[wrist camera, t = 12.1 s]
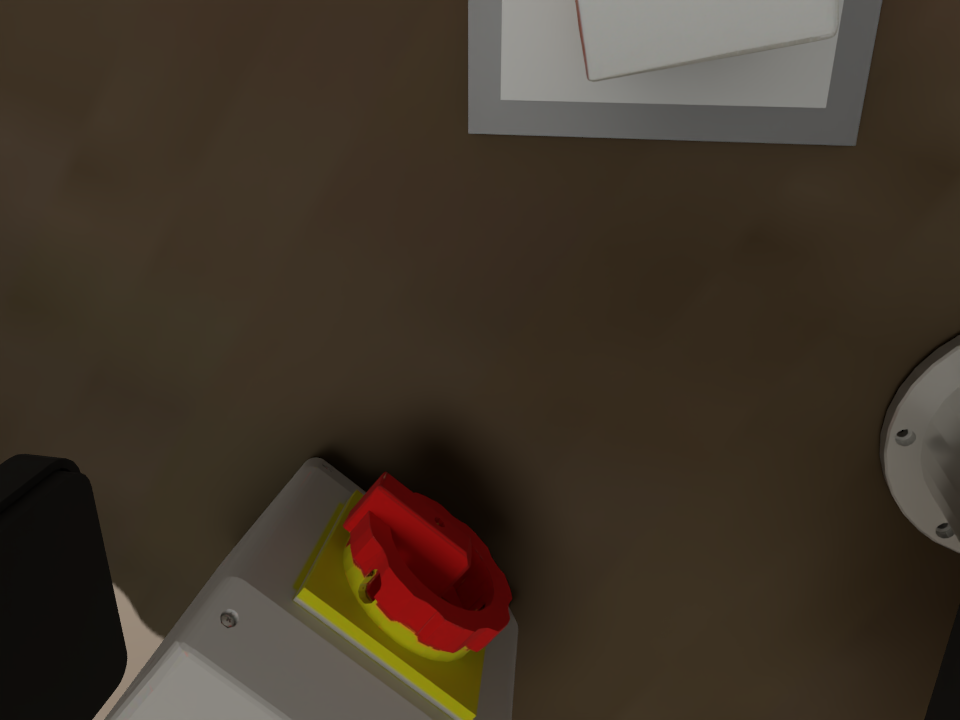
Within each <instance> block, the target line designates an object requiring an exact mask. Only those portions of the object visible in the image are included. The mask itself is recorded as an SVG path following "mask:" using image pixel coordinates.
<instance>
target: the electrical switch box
mask: <svg viewBox="0 0 960 720" xmlns="http://www.w3.org/2000/svg"><path fill="white" fill-rule="evenodd" d="M511 600H512V595H511V590H510V587H509V585H508V582H507V579H506V577H505V574H504V573H503V572H502V571H501V570H500V569H499V567H498V566H497V565H496V563H495V562H494V560H493V559H492V557H491V554H490V552H489V549H488V547H487V546H486V545H485V544H484V543H483V541H482V540H481V539H480V538H479V537H478V536H477V535H476V533H475V532H474V531H473V530H472V529H471V528H470V527H469V526H468V525H467V524H465V523H463V522H461V521H459V520H458V519H457V518H455V517H454V516H452V515H451V514H450V513H449V512H448V511H447V510H446V509H445V508H444V507H443V506H442V505H441V504H439V503H437V502H436V501H434V500H432V499H430V498H428V497H426V496H424V495H422V494H419V493H417V492H416V493H413V492H412V491H410V490H409V489H408V488H407V487H405V486H404V485H403V484H401V483H400V482H399V481H398V480H396V479H395V478H394V477H392V476H391V475H390V474H389V473H387V472H384V473H383V474H382V475H381V476H380V477H379V479H378V480H377V481H376V482H375V483H374V484H373V485H372V487H371V488H370V489H369V490H368V491H367V492H365V491H364V490H362V489H361V488H360V487H359V486H357V485H356V484H355V483H353V482H352V481H351V480H349V479H348V478H347V477H346V476H344V475H343V474H342V473H340V472H339V471H338V470H337V469H335V468H334V467H333V466H331V465H330V464H329V463H327V462H326V461H325V460H323V459H321V458H317V457H316V458H311V459H309V460H307V461H306V462H305V463H304V464H303V465H302V467H301V468H300V469H299V470H298V471H297V473H296V474H295V475H294V476H293V477H292V479H291V480H290V481H289V482H288V483H287V484H286V486H285V487H284V488H283V489H282V490H281V492H280V493H279V494H278V495H277V496H276V498H275V499H274V500H273V501H272V503H271V504H270V505H269V506H268V507H267V509H266V510H265V511H264V512H263V513H262V515H261V516H260V517H259V518H258V519H257V521H256V522H255V523H254V524H253V525H252V527H251V528H250V529H249V530H248V532H247V533H246V534H245V535H244V536H243V538H242V539H241V540H240V541H239V542H238V544H237V545H236V546H235V547H234V548H233V550H232V551H231V552H230V553H229V555H228V556H227V557H226V558H225V559H224V561H223V562H222V563H221V564H220V566H219V567H218V568H217V570H216V571H215V572H214V574H213V575H212V576H211V578H210V579H209V580H208V582H207V583H206V584H205V586H204V587H203V588H202V590H201V591H200V592H199V594H198V595H197V596H196V598H195V599H194V600H193V602H192V603H191V604H190V606H189V607H188V608H187V610H186V611H185V612H184V614H183V615H182V616H181V618H180V619H179V620H178V622H177V623H176V624H175V626H174V627H173V628H172V630H171V631H170V632H169V634H168V635H167V636H166V638H165V639H164V640H163V642H162V643H161V644H160V646H159V647H158V649H157V650H156V651H155V653H154V654H153V655H152V657H151V658H150V660H149V661H148V662H147V663H146V665H145V666H144V667H143V668H142V670H141V671H140V673H139V674H138V675H137V677H136V678H135V679H134V681H133V682H132V683H131V685H130V686H129V687H128V689H127V690H126V691H125V693H124V694H123V695H122V697H121V698H120V699H119V701H118V702H117V703H116V705H115V706H114V707H113V709H112V710H111V711H110V713H109V714H108V715H107V717H106V718H105V719H104V720H511V718H512V705H513V692H514V678H515V665H516V652H517V639H518V624H517V622H516V620H515V618H514V616H513V614H512V612H511V610H510V608H509V603H510V601H511Z"/></svg>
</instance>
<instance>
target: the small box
mask: <svg viewBox="0 0 960 720" xmlns="http://www.w3.org/2000/svg"><path fill="white" fill-rule="evenodd" d="M575 3H576V10H577V18H578V26H579V32H580V38H581V44H582V50H583V56H584V62H585V69H586V75H587V79H588V80H589V81H592V82H596V81H602V80H607V79H613V78H618V77H624V76H629V75H635V74H640V73H646V72H651V71H657V70H662V69H667V68H673V67H678V66H684V65H689V64H695V63H700V62H706V61H711V60H717V59H722V58H728V57H733V56H739V55H744V54H750V53H755V52H761V51H766V50H772V49H777V48H783V47H788V46H794V45H799V44H804V43H809V42H815V41H820V40H825V39H829V38H833V37H834V36H835V35H836V33H837V31H838V25H839V0H575Z"/></svg>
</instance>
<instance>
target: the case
mask: <svg viewBox="0 0 960 720" xmlns="http://www.w3.org/2000/svg"><path fill="white" fill-rule="evenodd" d="M881 5H882V0H839V25H838V31H837V33H836V35H835V36H834V37H833V38H829V39H825V40H820V41H815V42H809V43H804V44H799V45H794V46H788V47H783V48H777V49H772V50H766V51H761V52H755V53H750V54H744V55H739V56H733V57H728V58H722V59H717V60H711V61H706V62H700V63H695V64H689V65H684V66H678V67H673V68H667V69H662V70H657V71H651V72H646V73H640V74H635V75H629V76H624V77H618V78H613V79H607V80H602V81H596V82H592V81H589V80H588V79H587V75H586V69H585V62H584V56H583V50H582V44H581V38H580V32H579V26H578V18H577V10H576V3H575V0H468V133H471V134H502V135H534V136H565V137H596V138H627V139H658V140H689V141H720V142H751V143H782V144H813V145H845V146H855V145H856V140H857V134H858V129H859V123H860V118H861V113H862V107H863V102H864V96H865V91H866V86H867V80H868V75H869V69H870V64H871V59H872V53H873V48H874V42H875V37H876V32H877V26H878V21H879V15H880V10H881Z"/></svg>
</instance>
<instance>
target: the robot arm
mask: <svg viewBox="0 0 960 720" xmlns="http://www.w3.org/2000/svg"><path fill="white" fill-rule="evenodd" d="M901 430H904V431H903V432H901V433H898V432H899V431H901ZM879 455H880V461H881V466H882V471H883V476H884V479H885V481H886V483H887V485H888V488H889V490H890V492H891V495H892V496H893V498H894V500H895V501H896V503H897V505H898V506H899V508H900V510H901V511H902V513H903V514H904V515H905V517H906V518H907V519H908V520H909V521H910V522H911V523H912V524H913V525H914V526H915V527H916V528H917V529H918V530H919V531H920V532H922V533H923V534H924V535H926V536H927V537H928V538H930V539H931V540H933V541H934V542H936V543H938V544H940V545H942V546H944V547H946V548H949V549H951V550H953V551H955V552H957V553H960V335H959V336H957V337H955V338H954V339H952V340H951V341H949V342H947V343H946V344H944V345H943V346H941V347H939V348H938V349H936V350H935V351H934V352H933V353H932V354H931V355H929V356H928V357H927V358H926V359H925V360H924V361H923V362H921V363H920V364H919V365H918V366H917V367H916V368H915V369H914V370H913V371H912V373H911V374H910V375H909V376H908V378H907V379H906V380H905V381H904V383H903V384H902V385H901V386H900V387H899V389H898V391H897V393H896V395H895V396H894V398H893V400H892V402H891V404H890V406H889V408H888V410H887V412H886V416H885V419H884V423H883V426H882V430H881V436H880V454H879ZM126 665H127V650H126V646H125V641H124V636H123V632H122V627H121V622H120V617H119V613H118V609H117V604H116V599H115V594H114V589H113V585H112V580H111V575H110V571H109V566H108V561H107V557H106V552H105V547H104V543H103V538H102V533H101V529H100V524H99V519H98V514H97V510H96V505H95V500H94V496H93V491H92V486H91V484H90V481H89V479H88V478H87V477H86V475H84V474H82V473H80V470H79V468H78V466H77V465H76V464H75V463H74V462H73V461H71V460H69V459H66V458H57V457H48V456H39V455H30V454H18V455H15V456H13V457H11V458H9V459H8V460H6V461H5V462H3V463H2V464H1V465H0V720H92V719H93V718H94V717H95V715H96V714H97V713H98V712H99V710H100V709H101V708H102V706H103V705H104V704H105V703H106V701H107V700H108V699H109V697H110V696H111V695H112V694H113V692H114V691H115V690H116V688H117V687H118V685H119V684H120V682H121V680H122V678H123V675H124V673H125V669H126ZM924 720H960V605H959V608H958V611H957V615H956V618H955V621H954V625H953V628H952V631H951V634H950V638H949V641H948V644H947V647H946V651H945V654H944V657H943V661H942V664H941V667H940V670H939V674H938V677H937V680H936V683H935V687H934V690H933V693H932V697H931V700H930V703H929V706H928V710H927V713H926V716H925V719H924Z"/></svg>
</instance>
